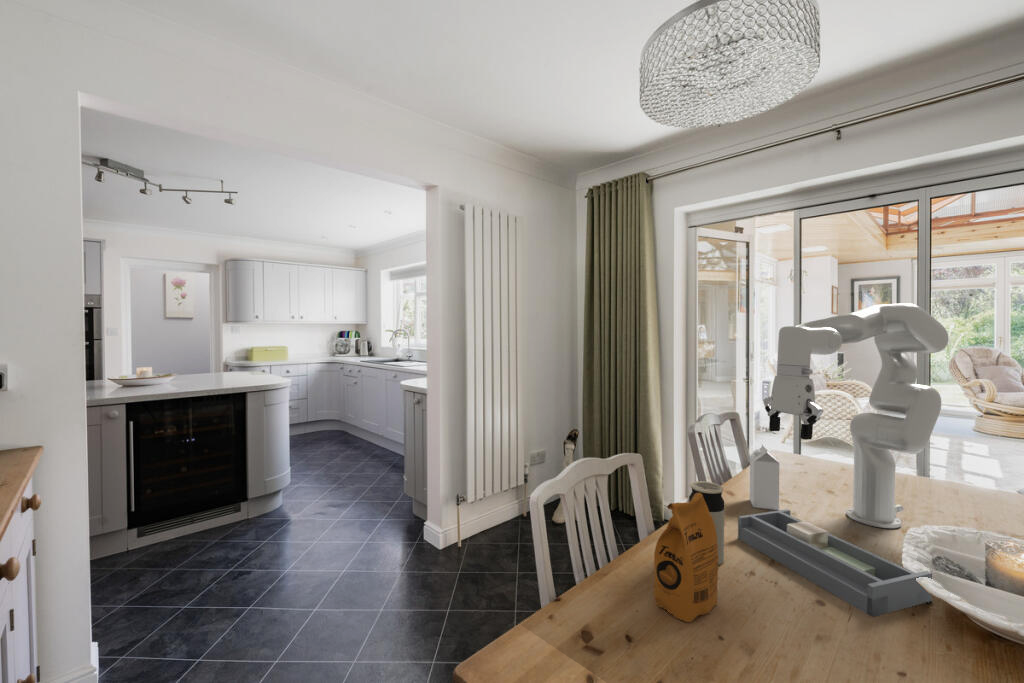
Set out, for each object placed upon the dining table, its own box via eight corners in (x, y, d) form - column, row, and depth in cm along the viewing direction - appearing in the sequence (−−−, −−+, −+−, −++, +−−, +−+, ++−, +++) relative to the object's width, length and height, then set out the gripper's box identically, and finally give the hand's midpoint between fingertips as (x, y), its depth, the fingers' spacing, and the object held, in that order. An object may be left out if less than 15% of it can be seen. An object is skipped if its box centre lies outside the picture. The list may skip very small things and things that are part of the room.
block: (804, 536, 113) (805, 521, 113) (827, 547, 107) (827, 531, 107) (786, 539, 111) (786, 524, 111) (808, 551, 105) (809, 534, 105)
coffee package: (645, 601, 92) (646, 497, 91) (683, 583, 98) (684, 485, 98) (687, 629, 83) (688, 514, 83) (725, 606, 90) (726, 500, 89)
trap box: (787, 530, 124) (787, 509, 124) (931, 601, 91) (932, 573, 91) (738, 538, 119) (738, 516, 119) (872, 617, 86) (872, 587, 86)
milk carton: (773, 502, 144) (774, 444, 143) (779, 510, 137) (779, 450, 137) (749, 499, 146) (750, 443, 146) (753, 507, 139) (754, 448, 139)
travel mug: (696, 546, 115) (697, 478, 114) (728, 558, 109) (729, 486, 108) (683, 558, 109) (683, 486, 109) (716, 570, 103) (717, 494, 103)
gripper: (834, 375, 112) (831, 442, 112) (776, 369, 128) (773, 428, 129) (812, 374, 110) (808, 443, 110) (755, 369, 126) (752, 428, 126)
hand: (789, 434), depth 119 cm, fingers open, 9 cm apart
